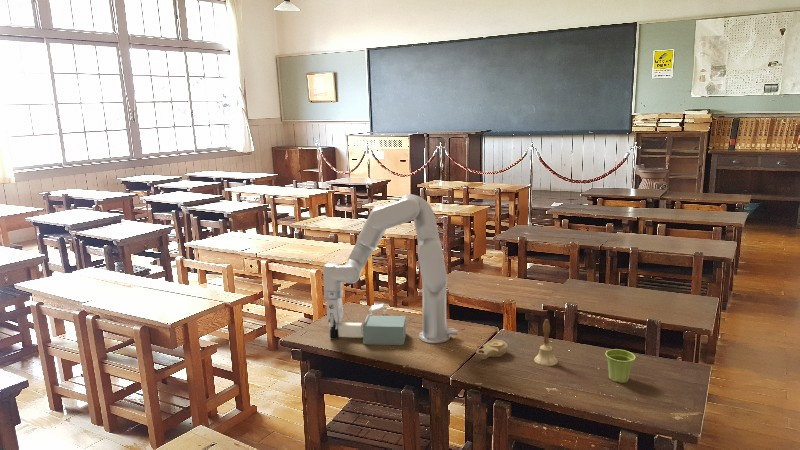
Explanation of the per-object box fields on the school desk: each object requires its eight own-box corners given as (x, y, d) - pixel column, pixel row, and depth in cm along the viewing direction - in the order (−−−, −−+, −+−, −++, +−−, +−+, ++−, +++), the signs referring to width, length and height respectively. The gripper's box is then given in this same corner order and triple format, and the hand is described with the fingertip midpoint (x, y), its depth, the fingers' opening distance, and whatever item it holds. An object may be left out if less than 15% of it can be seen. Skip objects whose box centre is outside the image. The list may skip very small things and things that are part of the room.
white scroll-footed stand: (371, 312, 256) (370, 302, 255) (388, 313, 254) (388, 303, 253) (362, 321, 245) (361, 310, 244) (380, 322, 242) (379, 312, 241)
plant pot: (640, 383, 184) (641, 358, 182) (615, 387, 181) (617, 362, 180) (621, 371, 193) (622, 347, 191) (598, 375, 190) (599, 351, 189)
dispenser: (405, 333, 230) (405, 314, 228) (403, 344, 218) (403, 325, 216) (367, 332, 231) (367, 314, 230) (363, 344, 219) (362, 324, 218)
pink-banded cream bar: (362, 334, 227) (362, 322, 226) (361, 337, 224) (360, 325, 223) (331, 333, 228) (330, 322, 227) (329, 336, 225) (329, 324, 224)
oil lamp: (474, 362, 202) (474, 349, 201) (482, 347, 215) (482, 335, 214) (503, 366, 198) (503, 353, 197) (510, 351, 211) (510, 338, 210)
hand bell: (544, 367, 196) (546, 325, 193) (529, 359, 203) (530, 318, 200) (562, 362, 200) (564, 321, 197) (546, 354, 207) (548, 314, 204)
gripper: (338, 300, 214) (340, 344, 218) (346, 287, 230) (347, 329, 234) (319, 299, 215) (321, 344, 218) (328, 287, 231) (330, 328, 234)
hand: (335, 336), depth 226 cm, fingers closed on pink-banded cream bar, 3 cm apart
